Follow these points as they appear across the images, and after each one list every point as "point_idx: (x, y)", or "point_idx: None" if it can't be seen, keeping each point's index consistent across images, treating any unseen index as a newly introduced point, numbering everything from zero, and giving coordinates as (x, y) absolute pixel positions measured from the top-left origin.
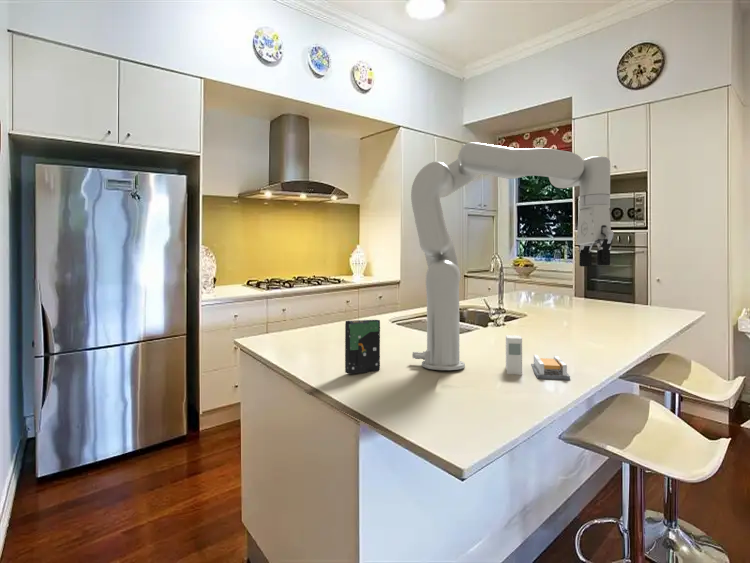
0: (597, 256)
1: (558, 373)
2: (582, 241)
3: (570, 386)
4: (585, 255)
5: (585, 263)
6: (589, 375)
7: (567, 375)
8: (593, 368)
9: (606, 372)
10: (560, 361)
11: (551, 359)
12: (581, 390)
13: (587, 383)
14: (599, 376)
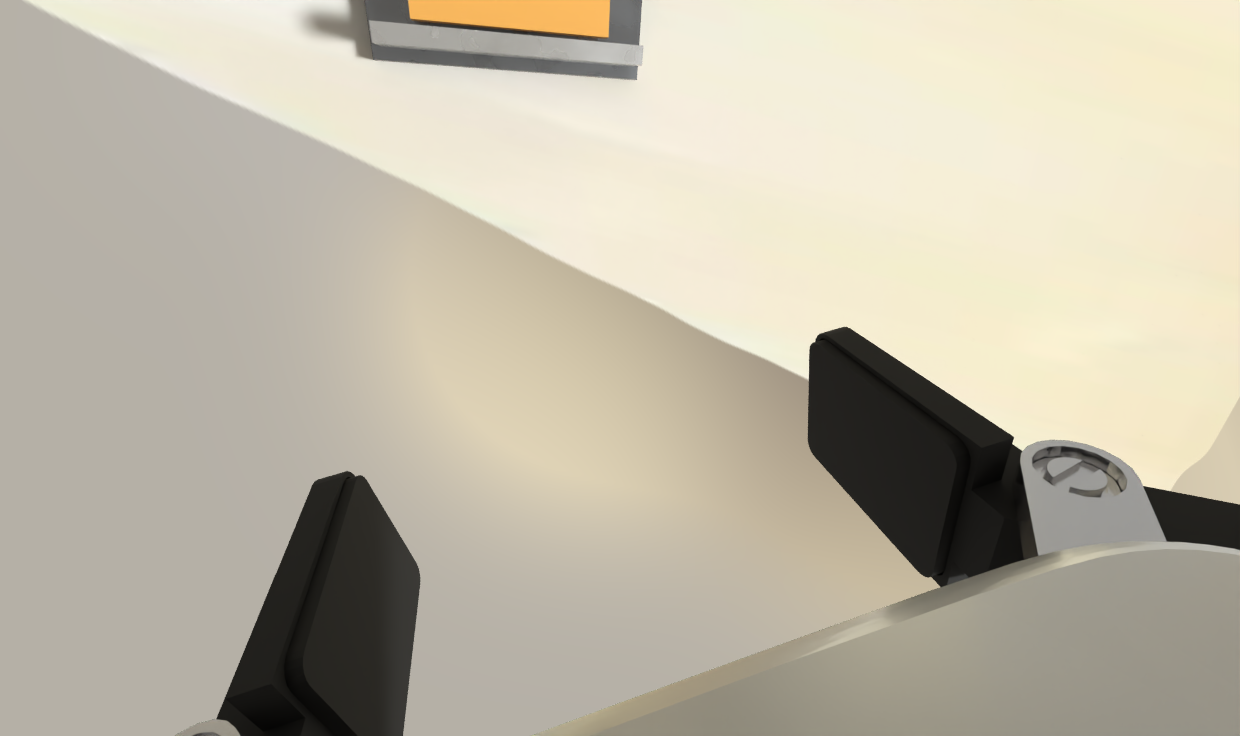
0: (292, 571)
1: None
2: (877, 717)
3: (234, 25)
4: (910, 481)
5: (829, 407)
6: (509, 175)
7: (389, 51)
8: (651, 225)
9: (583, 254)
10: (473, 36)
11: (583, 18)
12: (168, 56)
13: (337, 124)
14: (499, 209)
